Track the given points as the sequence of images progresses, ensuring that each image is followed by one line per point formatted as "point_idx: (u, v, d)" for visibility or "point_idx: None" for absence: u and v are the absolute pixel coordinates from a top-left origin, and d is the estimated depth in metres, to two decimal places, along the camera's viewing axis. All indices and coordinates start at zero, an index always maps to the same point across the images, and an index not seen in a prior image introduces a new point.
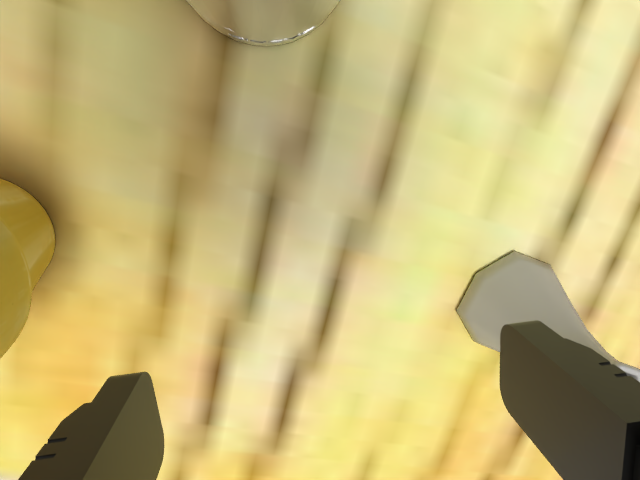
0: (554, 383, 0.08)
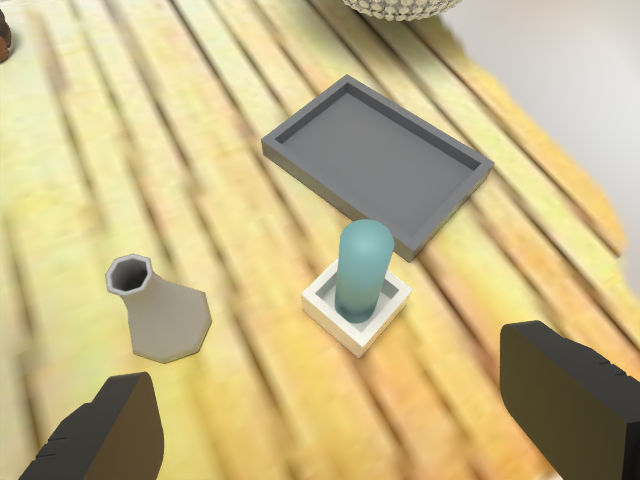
0: (554, 383, 0.08)
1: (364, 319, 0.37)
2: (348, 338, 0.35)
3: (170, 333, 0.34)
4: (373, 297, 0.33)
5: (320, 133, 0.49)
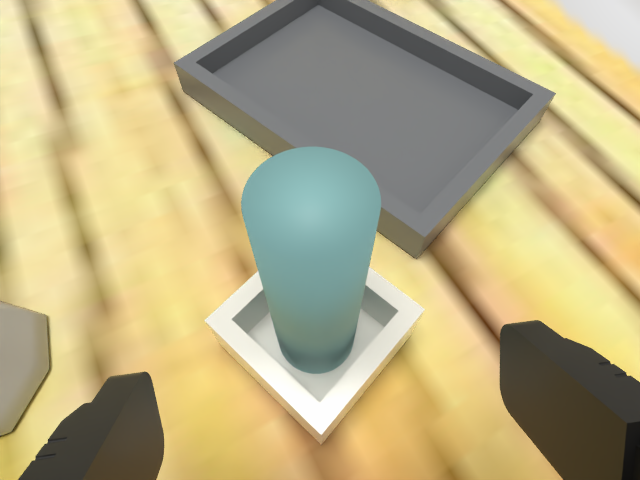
0: (554, 383, 0.08)
1: (331, 367, 0.19)
2: (295, 411, 0.17)
3: None
4: (342, 330, 0.16)
5: (273, 59, 0.31)
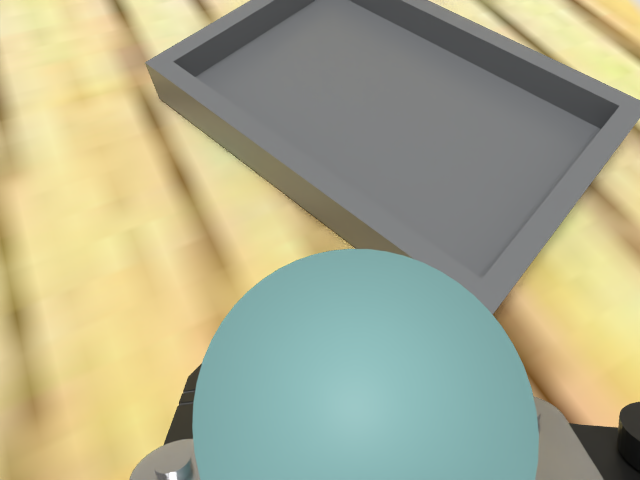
0: None
1: None
2: None
3: None
4: None
5: (275, 58, 0.24)
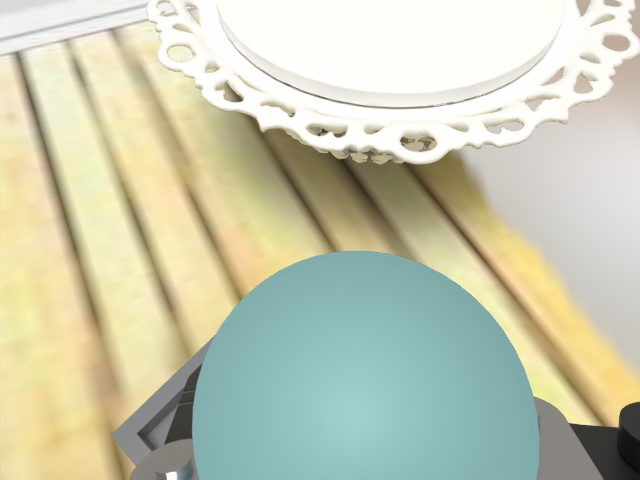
0: None
1: None
2: None
3: None
4: None
5: None
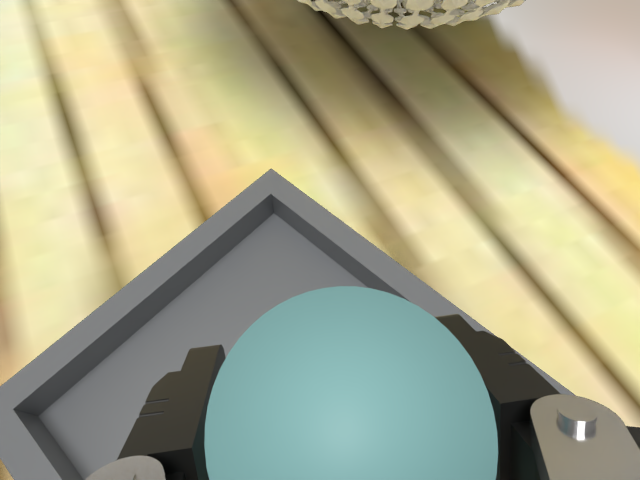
0: None
1: None
2: None
3: None
4: None
5: (183, 354, 0.17)
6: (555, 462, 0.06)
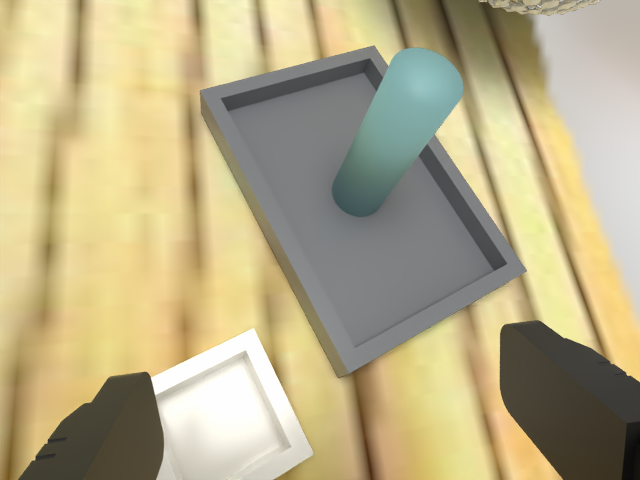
0: (554, 383, 0.08)
1: (362, 212, 0.29)
2: None
3: None
4: (391, 178, 0.25)
5: (297, 117, 0.31)
6: None
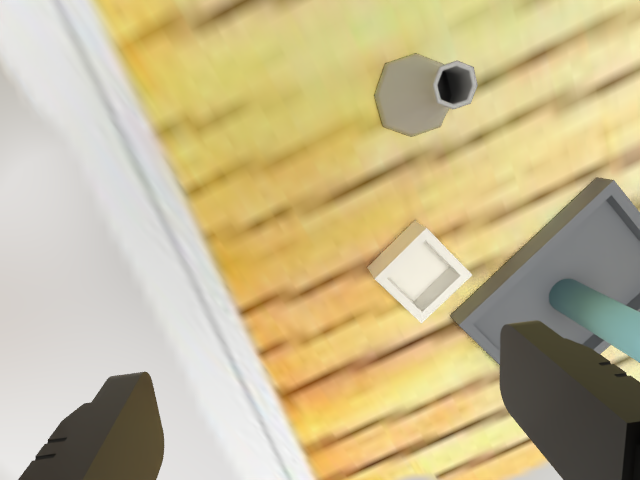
0: (554, 383, 0.08)
1: (552, 303, 0.45)
2: (383, 266, 0.41)
3: (399, 107, 0.37)
4: (583, 324, 0.41)
5: (611, 241, 0.44)
6: None
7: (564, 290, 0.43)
